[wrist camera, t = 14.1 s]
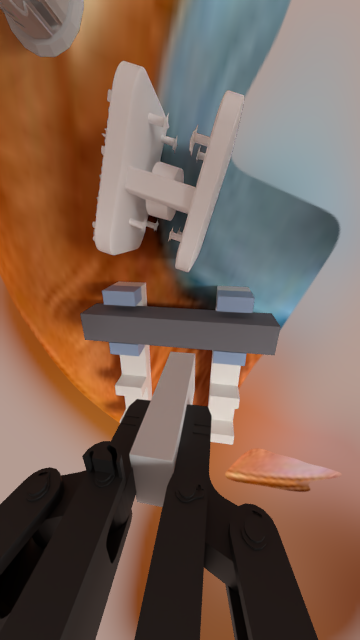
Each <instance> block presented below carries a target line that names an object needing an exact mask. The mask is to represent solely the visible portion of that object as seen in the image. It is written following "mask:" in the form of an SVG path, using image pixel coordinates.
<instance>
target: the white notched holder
mask: <svg viewBox="0 0 360 640" xmlns="http://www.w3.org/2000/svg"><path fill="white" fill-rule="evenodd" d="M102 294H103V301H104V305H120V306H147V293H146V283H142V282H119V281H118V282H117V283H115V284H113V285H111V286H109V287H108V288H106V289H104V290H102ZM254 299H255V298H254V296H253V294H252V293H251V291H250V289H249V287H235V286H217V296H216V309H215V310H217V311H223V312H240V313H253V306H254ZM109 345H110V353H111V354H117V355H120V361H121V370H122V375H121V377H120V378H119V380H118V381H117V383H116V384H115V390H116V395H122V396H125V404H126V410H125V412H124V414H123V416H122V418H121V420H120V423H121V421H122V419H123V417H124V415H125V413H126V411H127V409H128V407H129V406H130V405H131V404H132V403H133V402H134V401H135V400H136V399H142V400H150V401H151V399H152V387H151V368H150V349H149V345H143V344H130V343H118V342H109ZM245 360H246V353H240V352H228V351H216V350H212V361H211V374H210V387H209V401H208V408H209V411H210V413H211V415H212V420H211V439H210V442H217V443H225V444H232V445H233V441H234V431H233V416H234V409H238V406H239V400H240V398H239V391H238V381H239V374H240V366H245Z"/></svg>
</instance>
